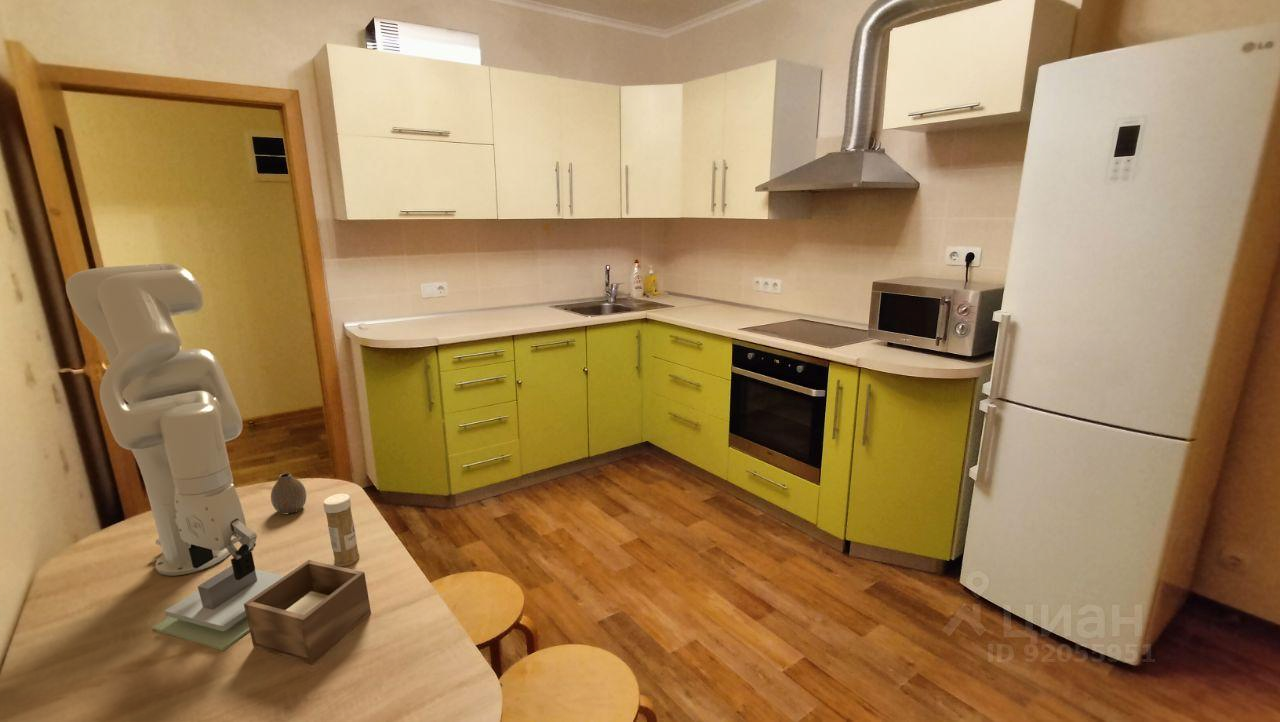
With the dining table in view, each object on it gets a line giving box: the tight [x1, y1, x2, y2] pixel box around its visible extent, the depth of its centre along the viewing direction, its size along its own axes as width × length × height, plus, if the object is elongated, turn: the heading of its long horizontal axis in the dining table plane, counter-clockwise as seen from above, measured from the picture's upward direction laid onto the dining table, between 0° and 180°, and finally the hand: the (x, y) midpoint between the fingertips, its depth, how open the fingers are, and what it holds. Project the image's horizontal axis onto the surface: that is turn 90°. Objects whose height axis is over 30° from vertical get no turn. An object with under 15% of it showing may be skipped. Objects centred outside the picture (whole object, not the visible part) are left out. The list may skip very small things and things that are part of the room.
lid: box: [164, 565, 285, 631], centre depth 100 cm, size 13×13×6 cm
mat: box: [151, 616, 250, 651], centre depth 101 cm, size 16×16×1 cm
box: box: [244, 559, 372, 665], centre depth 94 cm, size 12×12×8 cm
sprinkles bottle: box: [323, 493, 361, 567], centre depth 112 cm, size 5×5×14 cm
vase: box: [270, 472, 307, 514], centre depth 132 cm, size 7×7×9 cm
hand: (224, 569), depth 99 cm, fingers open, 9 cm apart
